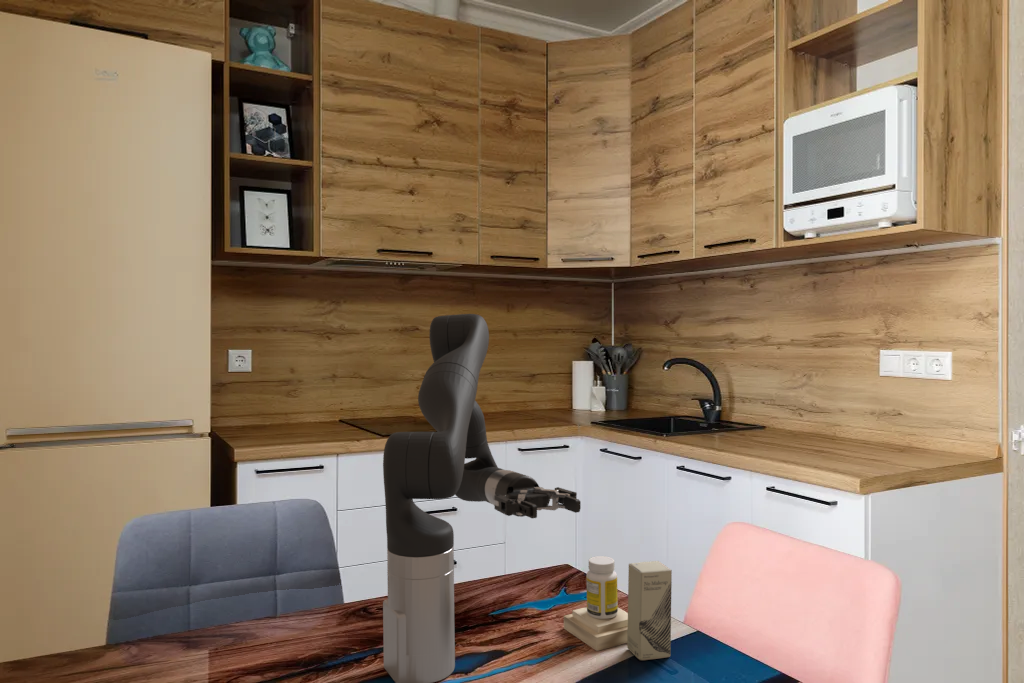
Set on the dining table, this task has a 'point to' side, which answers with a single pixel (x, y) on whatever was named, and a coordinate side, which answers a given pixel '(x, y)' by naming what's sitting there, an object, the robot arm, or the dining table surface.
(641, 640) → the box
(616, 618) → the cream stand
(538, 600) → the dining table surface
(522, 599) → the dining table surface
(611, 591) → the supplement bottle
